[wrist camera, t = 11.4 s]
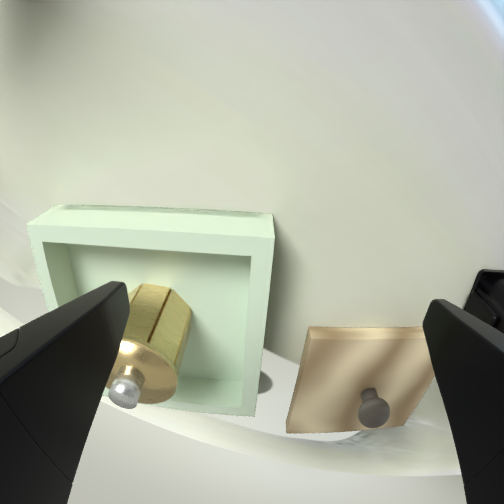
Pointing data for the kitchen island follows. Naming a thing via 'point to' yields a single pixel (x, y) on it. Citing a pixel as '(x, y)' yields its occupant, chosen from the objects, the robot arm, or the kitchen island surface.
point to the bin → (173, 284)
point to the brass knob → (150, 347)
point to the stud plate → (359, 379)
